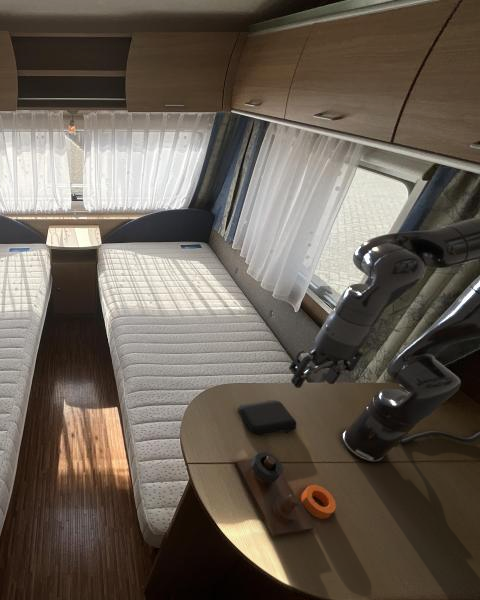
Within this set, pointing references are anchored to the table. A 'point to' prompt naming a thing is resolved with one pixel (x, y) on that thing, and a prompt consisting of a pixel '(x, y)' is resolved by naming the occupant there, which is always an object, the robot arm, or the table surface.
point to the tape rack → (274, 500)
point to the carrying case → (267, 417)
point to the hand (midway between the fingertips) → (311, 383)
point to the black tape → (264, 473)
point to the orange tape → (323, 497)
